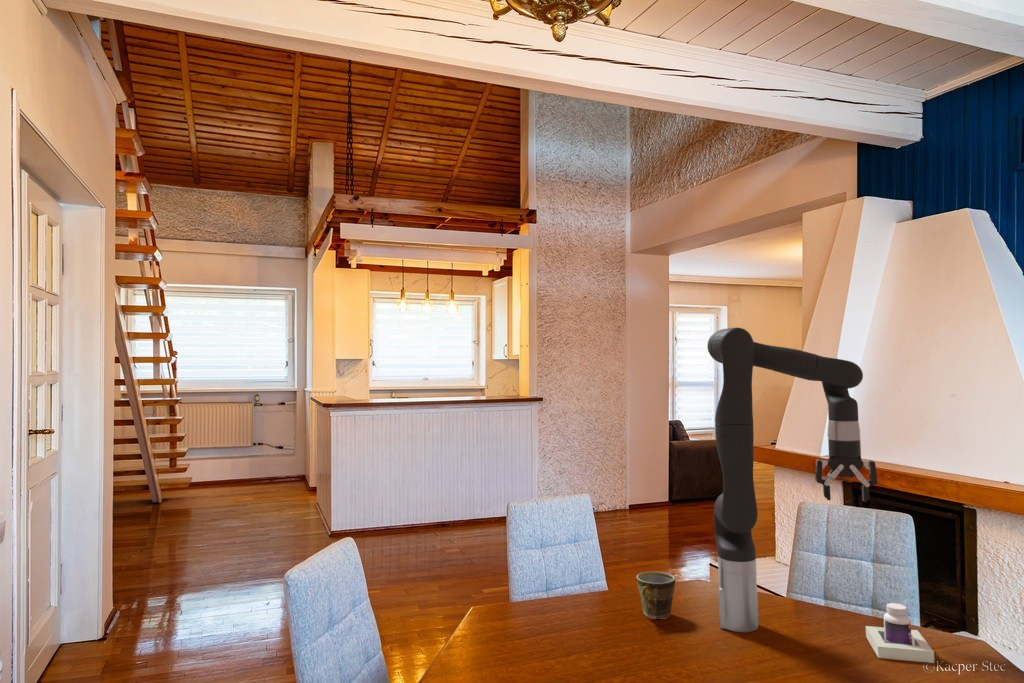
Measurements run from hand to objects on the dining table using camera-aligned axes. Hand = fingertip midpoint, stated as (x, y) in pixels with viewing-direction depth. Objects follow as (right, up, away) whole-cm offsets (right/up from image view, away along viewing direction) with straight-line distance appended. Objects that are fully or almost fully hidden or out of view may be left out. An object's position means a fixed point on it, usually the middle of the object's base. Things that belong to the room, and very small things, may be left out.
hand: (846, 500), depth 173 cm
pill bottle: (+2, -30, -20) cm, 36 cm away
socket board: (+2, -29, -20) cm, 36 cm away
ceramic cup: (-49, -32, +2) cm, 59 cm away
